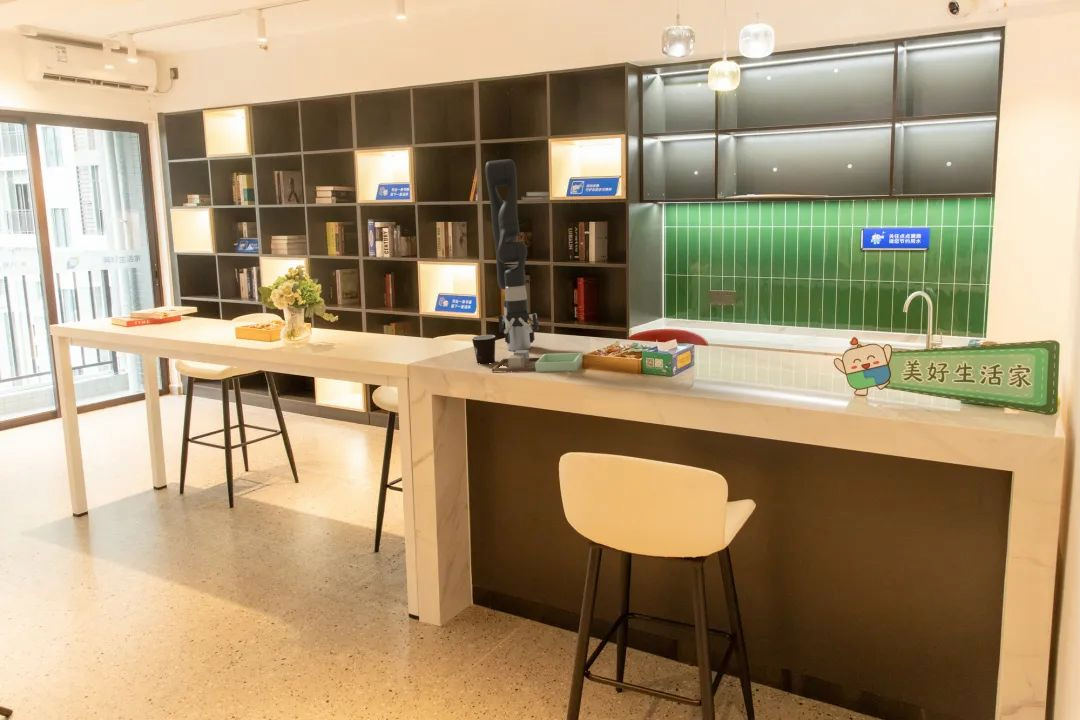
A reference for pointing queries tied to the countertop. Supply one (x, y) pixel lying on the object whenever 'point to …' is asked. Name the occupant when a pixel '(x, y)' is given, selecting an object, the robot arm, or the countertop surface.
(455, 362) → the countertop surface
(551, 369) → the green dish
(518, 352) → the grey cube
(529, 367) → the walnut tray
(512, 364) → the light grey cube
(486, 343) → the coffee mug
